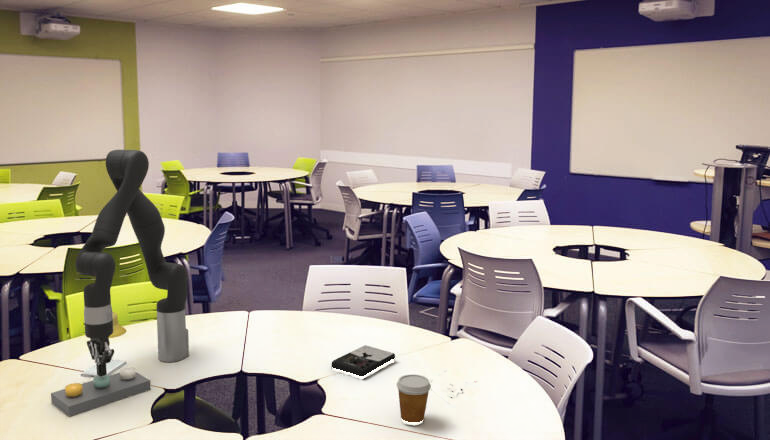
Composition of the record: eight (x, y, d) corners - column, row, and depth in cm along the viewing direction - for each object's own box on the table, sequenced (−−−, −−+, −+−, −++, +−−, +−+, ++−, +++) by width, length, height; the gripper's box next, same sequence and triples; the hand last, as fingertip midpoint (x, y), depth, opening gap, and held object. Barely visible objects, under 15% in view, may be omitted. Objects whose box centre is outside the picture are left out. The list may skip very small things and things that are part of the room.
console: (131, 377, 198) (130, 369, 198) (150, 389, 191) (150, 380, 190) (51, 402, 181) (50, 393, 180) (69, 416, 173) (68, 406, 172)
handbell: (93, 328, 241) (90, 265, 237) (127, 326, 245) (125, 264, 241) (88, 339, 230) (85, 273, 225) (124, 337, 233) (122, 272, 229)
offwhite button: (131, 372, 194) (130, 366, 194) (138, 376, 191) (138, 370, 191) (117, 376, 191) (117, 370, 190) (124, 380, 188) (124, 374, 188)
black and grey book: (330, 371, 209) (331, 357, 208) (365, 354, 225) (365, 340, 224) (362, 381, 202) (362, 367, 201) (395, 363, 217) (395, 349, 217)
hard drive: (104, 358, 211) (80, 372, 199) (126, 360, 209) (103, 375, 197) (104, 363, 211) (80, 377, 199) (126, 365, 209) (103, 380, 197)
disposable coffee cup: (427, 413, 181) (429, 373, 179) (430, 429, 172) (432, 388, 170) (394, 412, 181) (395, 373, 179) (396, 429, 171) (397, 388, 169)
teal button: (105, 379, 188) (105, 373, 188) (112, 384, 185) (112, 377, 185) (91, 384, 185) (90, 378, 184) (97, 388, 182) (97, 382, 182)
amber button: (78, 388, 182) (78, 381, 182) (85, 392, 179) (85, 386, 179) (62, 392, 179) (62, 386, 178) (69, 397, 176) (69, 391, 176)
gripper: (122, 321, 180) (125, 377, 183) (100, 310, 189) (103, 365, 192) (96, 327, 175) (99, 386, 178) (75, 316, 183) (78, 372, 186)
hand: (101, 375), depth 185 cm, fingers closed
